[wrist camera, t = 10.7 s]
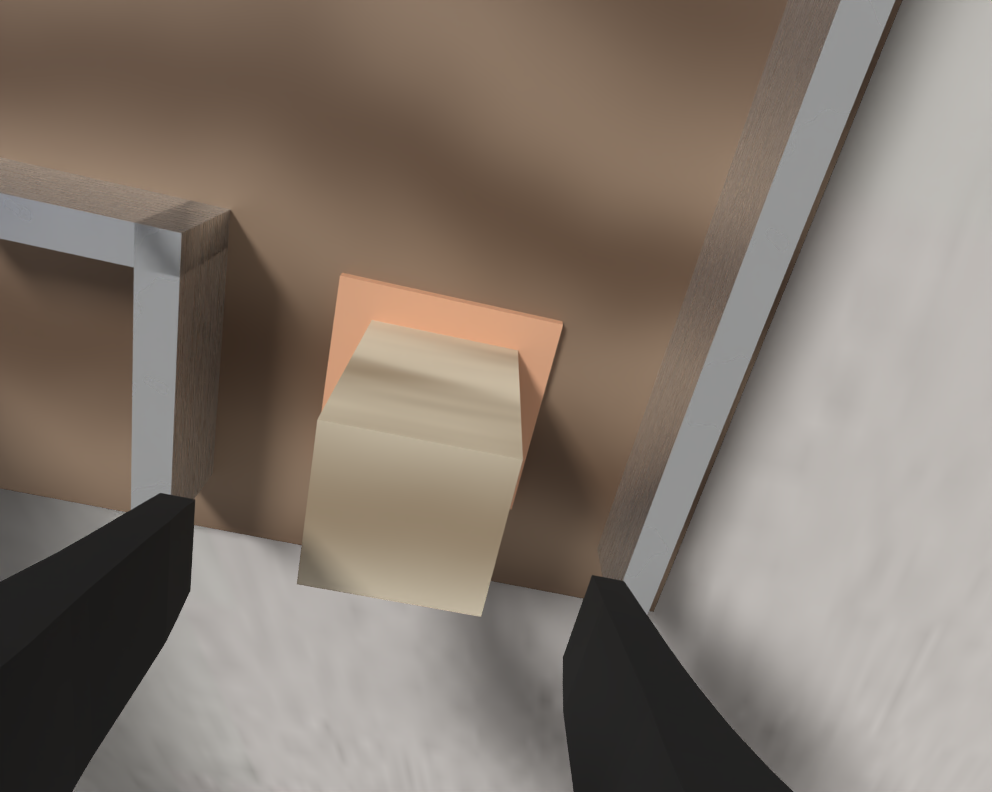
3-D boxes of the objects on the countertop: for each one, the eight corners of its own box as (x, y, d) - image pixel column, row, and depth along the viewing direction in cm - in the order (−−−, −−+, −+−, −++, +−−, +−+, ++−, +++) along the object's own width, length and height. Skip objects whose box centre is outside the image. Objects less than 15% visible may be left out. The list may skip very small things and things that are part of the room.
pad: (511, 504, 22) (511, 509, 21) (315, 465, 21) (313, 470, 21) (562, 321, 19) (563, 324, 19) (342, 272, 19) (339, 275, 18)
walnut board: (648, 591, 24) (653, 611, 23) (-67, 454, 22) (-92, 471, 21) (1010, -321, 14) (1044, -349, 13) (-208, -702, 12) (-263, -763, 12)
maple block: (487, 474, 21) (481, 616, 15) (352, 448, 20) (297, 584, 15) (517, 349, 19) (522, 459, 14) (372, 319, 19) (317, 419, 13)
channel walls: (627, 554, 22) (644, 621, 20) (-29, 426, 21) (-110, 480, 18) (945, -303, 14) (1055, -397, 11) (-127, -634, 12) (-312, -840, 9)
